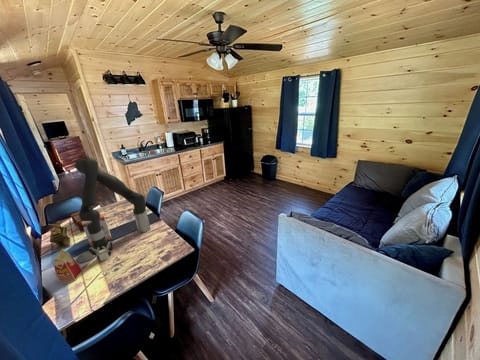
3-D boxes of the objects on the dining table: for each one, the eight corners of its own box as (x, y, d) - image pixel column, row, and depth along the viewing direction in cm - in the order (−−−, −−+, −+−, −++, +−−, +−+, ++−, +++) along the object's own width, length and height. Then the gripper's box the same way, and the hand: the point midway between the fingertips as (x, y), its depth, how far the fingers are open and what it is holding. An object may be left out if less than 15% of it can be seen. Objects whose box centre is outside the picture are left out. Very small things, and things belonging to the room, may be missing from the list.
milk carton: (68, 272, 129) (56, 247, 121) (83, 270, 129) (72, 245, 122) (57, 284, 120) (44, 258, 113) (74, 282, 121) (61, 256, 113)
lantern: (91, 218, 170) (80, 208, 188) (77, 223, 163) (68, 212, 181) (94, 228, 174) (84, 217, 192) (81, 233, 167) (71, 222, 185)
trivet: (98, 248, 149) (98, 247, 149) (97, 258, 139) (96, 257, 139) (78, 254, 144) (78, 253, 144) (75, 265, 134) (75, 264, 134)
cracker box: (90, 246, 151) (81, 223, 143) (90, 242, 156) (81, 219, 148) (111, 239, 158) (104, 216, 150) (111, 235, 163) (103, 213, 155)
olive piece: (56, 241, 159) (46, 220, 151) (71, 236, 164) (62, 215, 157) (54, 255, 144) (42, 232, 136) (71, 249, 149) (61, 227, 142)
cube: (109, 253, 143) (107, 248, 141) (109, 258, 139) (107, 252, 137) (101, 256, 141) (99, 250, 139) (100, 261, 137) (98, 255, 135)
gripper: (110, 230, 139) (117, 250, 146) (85, 237, 133) (93, 257, 140) (109, 236, 133) (116, 256, 140) (83, 243, 127) (92, 264, 133)
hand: (105, 256), depth 140 cm, fingers closed on cube, 5 cm apart
